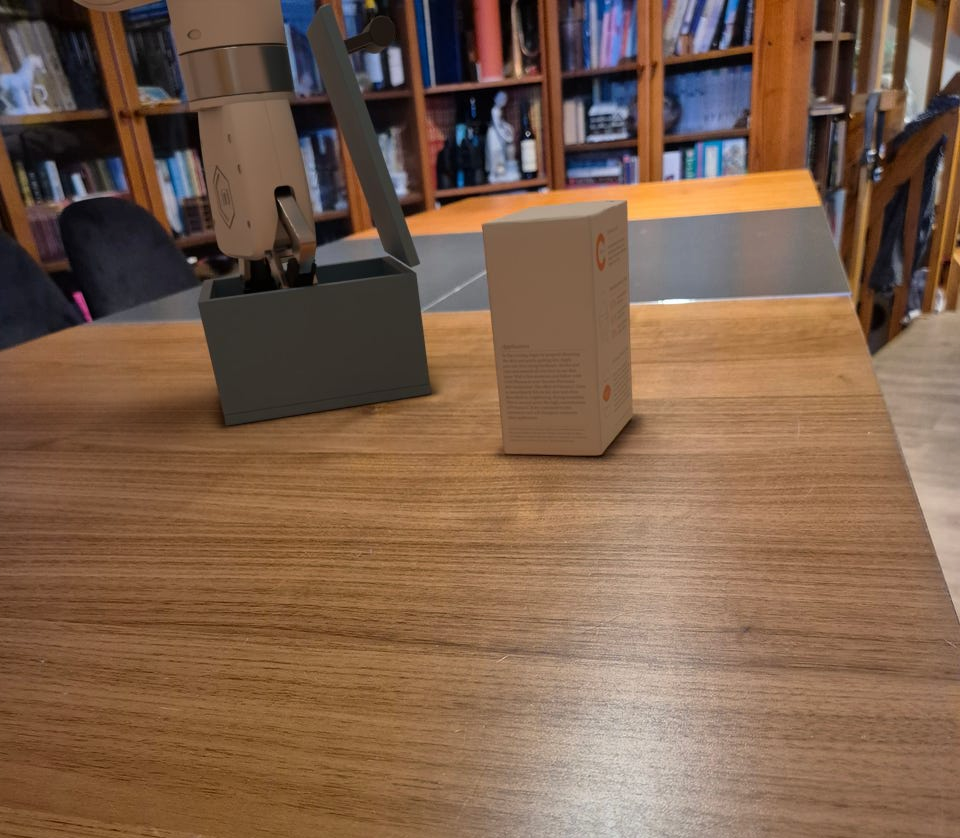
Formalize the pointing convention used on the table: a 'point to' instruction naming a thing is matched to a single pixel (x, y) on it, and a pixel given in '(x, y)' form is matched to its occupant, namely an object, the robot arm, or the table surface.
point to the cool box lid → (361, 122)
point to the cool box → (316, 341)
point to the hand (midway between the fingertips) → (288, 341)
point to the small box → (561, 325)
